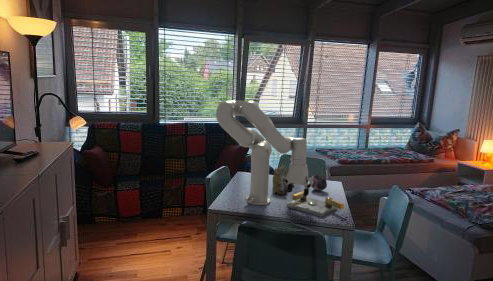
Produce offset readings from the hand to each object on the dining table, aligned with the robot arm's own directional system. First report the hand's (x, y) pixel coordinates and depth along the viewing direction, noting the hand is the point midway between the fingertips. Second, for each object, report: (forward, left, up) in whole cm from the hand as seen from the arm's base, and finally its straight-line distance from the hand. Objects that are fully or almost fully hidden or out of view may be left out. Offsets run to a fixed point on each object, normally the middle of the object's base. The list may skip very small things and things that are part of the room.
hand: (297, 193), depth 174 cm
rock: (+19, +22, -7) cm, 30 cm away
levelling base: (+3, -7, -6) cm, 10 cm away
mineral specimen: (+34, +6, -7) cm, 35 cm away
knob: (+7, -14, -4) cm, 17 cm away
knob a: (+7, +1, -4) cm, 9 cm away
